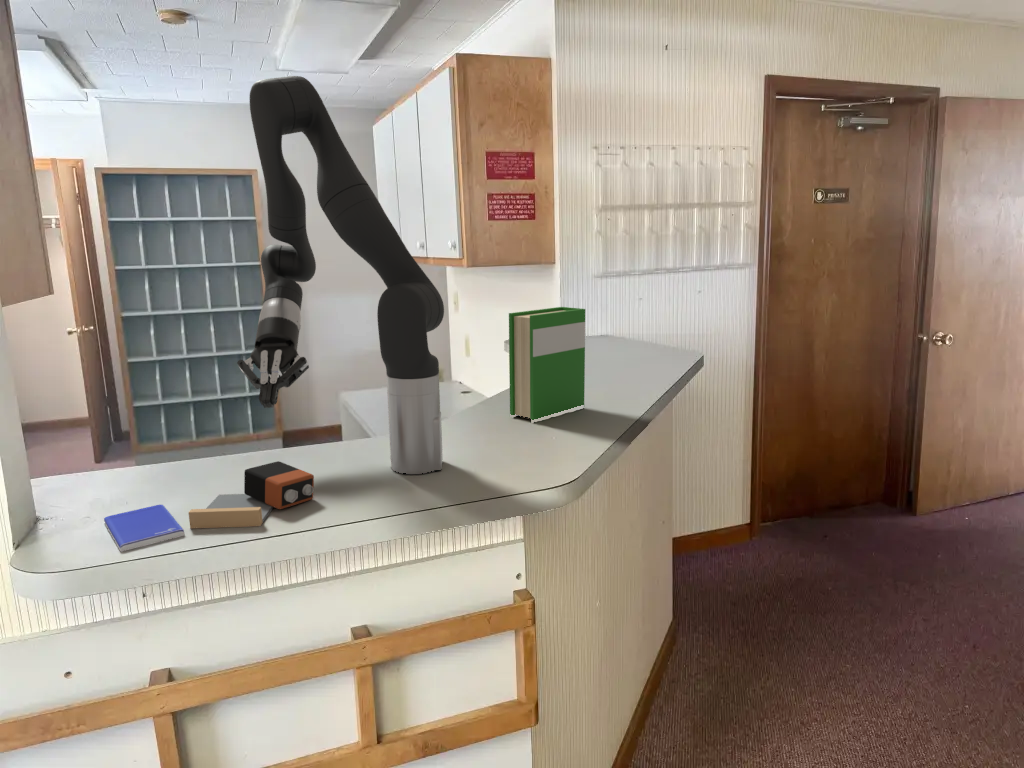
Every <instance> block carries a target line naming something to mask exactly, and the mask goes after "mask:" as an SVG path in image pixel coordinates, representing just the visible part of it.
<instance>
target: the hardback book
mask: <svg viewBox="0 0 1024 768" xmlns="http://www.w3.org/2000/svg"><path fill="white" fill-rule="evenodd" d="M508 354H509V355H508V356H509V359H508V360H509V363H508V365H509V367H508V368H509V372H508V373H509V415H510V414H511V415H515V414H516V415H520V417H521V416H523V417H522V418H525V417H528V418H527V419H529V418H530V419H532V420H534V419H538V418H541V417H544V416H548V415H551V414H554V413H558V412H561V411H564V410H568V409H571V408H574V407H577V406H581V405H584V406H585V381H586V380H585V379H586V378H585V375H586V374H585V371H586V369H585V368H586V364H585V363H586V360H585V359H586V308H579V307H566V306H557V307H550V308H541V309H533V310H523V311H515V312H508ZM530 419H529V420H530Z"/></svg>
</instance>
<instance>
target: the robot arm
mask: <svg viewBox="0 0 1024 768" xmlns="http://www.w3.org/2000/svg"><path fill="white" fill-rule="evenodd" d="M327 109H328V108H326V105H325V103H324V101H323V100H322V97H321V96H320V94H319V92H318V90H317V89H316V88H315V86H314V85H313V84H312V83H311V82H310V81H309V80H308V79H307V78H306V77H304V76H301V75H300V76H299V75H289V76H282V77H274V78H272V77H271V78H264V79H260V80H257V81H254V83H253V84H252V86H251V87H250V91H249V110H250V111H249V112H250V118H251V123H252V128H253V129H252V130H253V132H254V138H255V142H256V147H257V148H256V149H257V152H258V156H259V161H260V166H261V170H262V174H263V179H264V186H265V190H266V193H265V194H266V202H267V203H266V206H267V208H266V209H267V223H268V225H267V226H268V232H269V235H270V236H271V237H272V238H273V239H274V240H277V241H279V242H283V243H285V244H287V245H282V244H270V245H267V247H265V248H264V249H263V250H262V253H261V254H260V265H261V270H262V274H263V278H264V279H263V280H264V285H265V286H264V287H265V288H264V296H263V301H262V307H261V310H260V312H259V317H258V318H259V319H258V323H257V329H256V335H255V340H254V348H253V350H252V351H251V353H250V356H249V358H247V359H245V360H243V359H238V360H237V362H236V364H237V366H238V367H239V369H240V371H241V372H242V374H243V375H244V377H246V379H247V380H248V381H249V382H250V383H251V385H252V386H253V387H254V388H255V390H257V389H258V390H259V396H258V401H259V402H260V404H261V406H262V407H263V408H264V409H268V408H269V409H271V408H274V406H275V405H277V404H278V398H279V393H280V392H279V391H280V390H281V389H282V388H290V387H291V385H293V384H294V383H295V382H296V381H297V380H298V379H300V377H301V376H302V375H303V374H304V373H305V372H307V370H308V369H309V368H310V366H309V363H308V361H307V359H306V357H305V356H299V353H298V346H299V345H298V344H299V343H298V342H299V336H300V330H301V326H302V325H301V318H302V317H301V310H302V309H301V308H302V302H303V296H304V295H303V288H302V287H301V285H300V284H299V283H306V282H309V281H310V280H312V279H313V277H314V276H315V273H316V269H317V268H316V267H317V264H316V263H317V262H316V259H315V256H314V252H313V249H312V247H311V244H310V239H309V237H308V231H307V217H306V216H307V214H306V213H307V212H306V209H307V208H306V207H307V205H306V198H305V193H304V191H303V189H302V187H301V184H300V183H299V181H298V180H297V178H296V177H295V175H294V174H293V172H292V170H291V169H290V168H289V166H288V164H287V162H286V159H285V157H284V154H283V148H282V147H283V146H282V145H283V143H282V141H283V136H285V135H291V134H297V133H303V134H304V136H305V137H306V139H308V141H309V143H310V145H311V146H312V147H311V148H312V149H313V151H314V154H315V155H316V162H317V174H316V175H317V176H316V193H317V194H316V195H317V200H318V203H319V206H320V208H321V210H322V212H323V213H324V215H325V216H326V218H327V220H328V221H329V223H330V225H331V227H332V228H333V230H334V231H335V232H336V233H337V235H338V237H339V238H340V239H341V241H343V242H344V243H345V244H346V245H347V246H348V247H349V248H350V249H351V250H353V251H354V253H356V254H357V255H358V256H359V257H360V258H362V259H363V260H364V261H365V262H366V263H367V264H368V265H369V266H371V267H372V268H373V269H374V271H375V272H376V273H377V274H378V275H379V277H380V278H381V280H382V281H383V283H384V285H385V286H386V289H385V290H384V291H383V292H382V294H381V295H380V297H379V300H378V303H377V315H376V316H377V317H376V318H377V326H378V327H377V328H378V329H377V330H378V338H379V340H378V341H379V349H380V356H381V359H382V362H383V363H384V366H385V369H386V372H385V373H386V391H387V392H386V393H387V410H388V411H387V413H388V427H389V428H388V431H389V433H388V434H389V449H390V451H389V452H390V453H389V455H390V457H389V458H390V466H391V467H390V468H391V470H392V471H394V472H395V471H396V473H398V472H399V474H403V473H406V474H405V475H421V474H422V473H423V474H428V473H427V472H429V473H432V472H435V471H434V470H441V469H443V461H442V460H443V457H444V455H443V429H442V428H443V427H442V412H441V398H440V397H441V395H440V366H439V364H440V363H439V359H438V357H437V356H436V355H434V354H432V353H431V352H430V349H429V344H428V332H432V331H434V330H435V329H437V328H438V327H440V325H441V323H442V321H443V318H444V316H445V306H444V301H443V299H442V296H441V294H440V292H439V291H438V290H439V289H437V287H436V286H435V285H434V283H433V282H432V281H431V279H430V278H429V277H428V275H427V274H426V273H425V271H423V269H422V268H421V266H420V264H418V262H417V261H416V260H415V258H414V257H413V256H412V254H411V253H410V251H409V249H408V248H407V246H406V245H405V243H404V242H403V240H402V238H401V237H400V234H399V233H398V231H397V230H396V228H395V226H394V225H393V223H392V222H391V220H390V218H389V217H388V215H387V214H386V212H385V211H384V208H383V206H382V205H381V203H380V202H379V200H378V198H377V196H376V195H375V193H374V192H373V190H372V188H371V186H370V185H369V183H368V182H367V180H366V179H365V178H364V176H363V175H362V173H361V171H360V170H359V168H358V166H357V165H356V163H355V161H354V159H353V157H352V156H351V154H350V153H349V151H348V149H347V147H346V146H345V144H344V142H343V140H342V138H341V137H340V134H339V132H338V130H337V129H336V126H335V124H334V122H333V120H332V118H331V115H330V114H329V111H328V110H327ZM254 365H255V366H256V368H257V369H258V370H259V373H260V377H258V376H257V375H256V374H255V373H254V371H253V370H254ZM431 471H432V472H431ZM441 471H442V470H441Z"/></svg>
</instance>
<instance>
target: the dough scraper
mask: <svg viewBox="0 0 1024 768" xmlns="http://www.w3.org/2000/svg"><path fill="white" fill-rule="evenodd" d="M273 509H274V507H272V506H270V505H268V504H266V503H264V502H261V501H259V500H257V499H255V498H253V497H250V496H248V495H246V494H245V493H233V494H232V493H231V494H230V493H229V494H226V493H225V494H218V495H217V496H216V497H215V498H214V500H212V502H210V503H209V505H208V506H207V507H205V508H192V509H190V510H189V511H188V520H189V528H190V529H216V528H217V529H218V528H245V527H247V528H248V527H249V528H250V527H261V526H262V524H263V523H264V521H266V519H267V518H268V516H269V514H270V513H271V512H272V510H273Z"/></svg>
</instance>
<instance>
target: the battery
mask: <svg viewBox="0 0 1024 768" xmlns="http://www.w3.org/2000/svg"><path fill="white" fill-rule="evenodd" d="M243 475H244V476H243V477H244V484H243V485H244V486H243V487H244V489H243V490H244V493H243V494H246V495H248V496H250V497H253V498H255V499H257V500H259V501H261V502H264V503H266V504H268V505H270V506H272V507H273V508H275V509H277V510H282V509H286V508H290V507H294V506H295V505H299V504H302V503H306V502H308V501H311V500H313V499H314V491H315V488H314V487H315V486H314V484H315V482H314V481H315V476H314V474H312V473H309V472H308V471H305V470H302V469H299V468H297V467H294V466H292V465H289V464H287V463H284V462H282V461H280V460H279V461H273V462H269V463H266V464H262V465H258V466H254V467H249V468H246V469H245V470H244V474H243Z"/></svg>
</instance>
